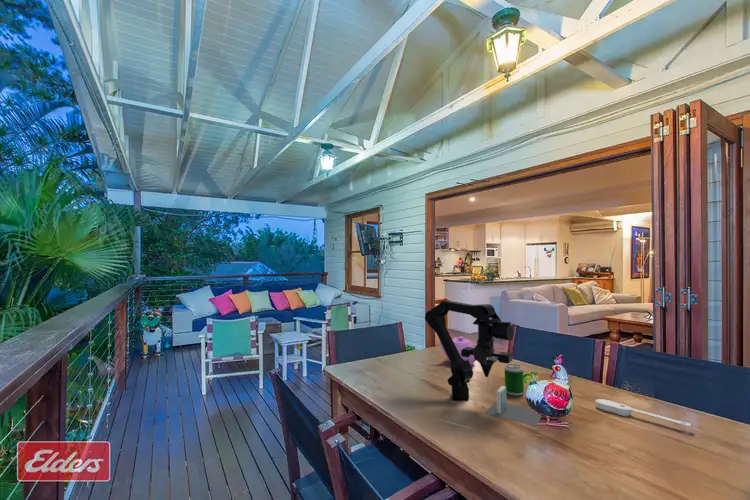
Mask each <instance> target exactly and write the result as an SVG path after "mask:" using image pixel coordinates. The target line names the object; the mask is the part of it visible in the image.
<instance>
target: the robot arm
mask: <svg viewBox="0 0 750 500" xmlns="http://www.w3.org/2000/svg"><path fill="white" fill-rule="evenodd" d="M449 312H456V313H459V314H463V315H464V314H465V315H469V316H471V317H472V318H474V319H475V320H474V321H473V322H472V324H473V325H477V340H476V346H474V348H472V347H465V348H464V349H462V350H461V356H463V357H469V356H470V355H474V359H475V360H476V361H475V362H477V363H478V364H479V366H480V367H481V370H482V372H483V375H484V377H486V378H488V377H489V375H490V372H491V370H492V368H493V365H494V364H495V363H496V362H497V361H498V363H502V364H511V362H512V361H514V359H513V358H514V357H513V354H512V353H511V352H507V351H501V352H498V353H495V350H496V349H495V348H494V346H495V345H494V342H495V339H497V340H503V341H508V342H509V341H513V339H514V337H515V336H514V335H515V330H514V327H513V326H512V323H511V321H502V320H501V319H500V318H501V317H500V316H499V315H498V314H497V312H496V310H495V307H494V306H493V305H492V304H490V303H486V304H485V303H484V304H483V303H481V304H479V303H478V304H470V303H465V302H464V303H463V302H458V301H452V300H449V299H448V300H442V301H440V302H439V303H438V304H437V305H436V306H434V307H433V308H432V309H430V310H427V312H426V313H425V315H424V320H425V321H426V323H427V325H428V326H429V328H431V329H432V330H434V332H435V333H436V335H437V337H438V340H439V341H440V342H439V343H441V344H442V346H443V348H444V350H445V352H446V354H447V356H448V358H449V360H450V361H449V360H448V361H449V363H450V362H451V363H450V371H451V376H449V377H448V378H447V383H448V385H449V386H450V387H451V388H450V389H451V390H450V391H451V394H450V397H451V401H455V402H468V401H469V398H470V389H469V386H468V383H470V382H471V379H473V377H474V368H473V366H471V365H470V363H469V361H468V360H466V361H465V360H463V359H462V358H461V356H460V354H459V352H458V350H457V348H456V346H455V344H454V342H453V340H452V339H453V338H452V336H451V335H450V333H449V331H448V329H447V326H446V325H447V324H446V322H447V320H446V315H448V313H449ZM448 358H447V359H448Z"/></svg>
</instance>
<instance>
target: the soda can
mask: <svg viewBox="0 0 750 500" xmlns="http://www.w3.org/2000/svg"><path fill="white" fill-rule="evenodd" d="M504 386H506V394H508V395H510V396H515V397H517V396H522V395H524V394H525V393H524V392H525V390H524V389H525V388H524V387H525V386H524V368H523V367H522V366H521V365H520V364H518V363H517V364H516V363H506V365H505V366H504Z"/></svg>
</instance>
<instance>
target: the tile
mask: <svg viewBox="0 0 750 500" xmlns="http://www.w3.org/2000/svg"><path fill="white" fill-rule="evenodd" d="M507 394H508V393H507V392H506V386H505V385H502V386H500V387H499V388H498V389H497V390H496V401H497V413H500V414H501V413H502V412H503V411H504V410H505V408H506V407H507V404H508V401H507Z"/></svg>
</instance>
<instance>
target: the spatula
mask: <svg viewBox="0 0 750 500" xmlns="http://www.w3.org/2000/svg"><path fill="white" fill-rule="evenodd" d="M594 403H595V406H596V407H597V408H598V409H600V410H601V411H604V412H605V411H606V412H609V413H613V414H616V415H619V416H622V417H630V416H631V415H632V412H635V413H639V414H642V415H647V416H650V417H653V418H658V419H661V420H664V421H668V422H670V423H675V424H678V425H681V426H683V427H692V424H691V423H689V422H686V421H684V420H683V421H682V420H678V419H674V418H670V417H666V416H662V415H658V414H655V413H651V412H648V411H644V410H640V409H638V408H637V409H636V408H633V407H630V406H629V405H627V404H624V403H620V402H616V401H613V400H608V399H604V398H599V399H595V401H594Z"/></svg>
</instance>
